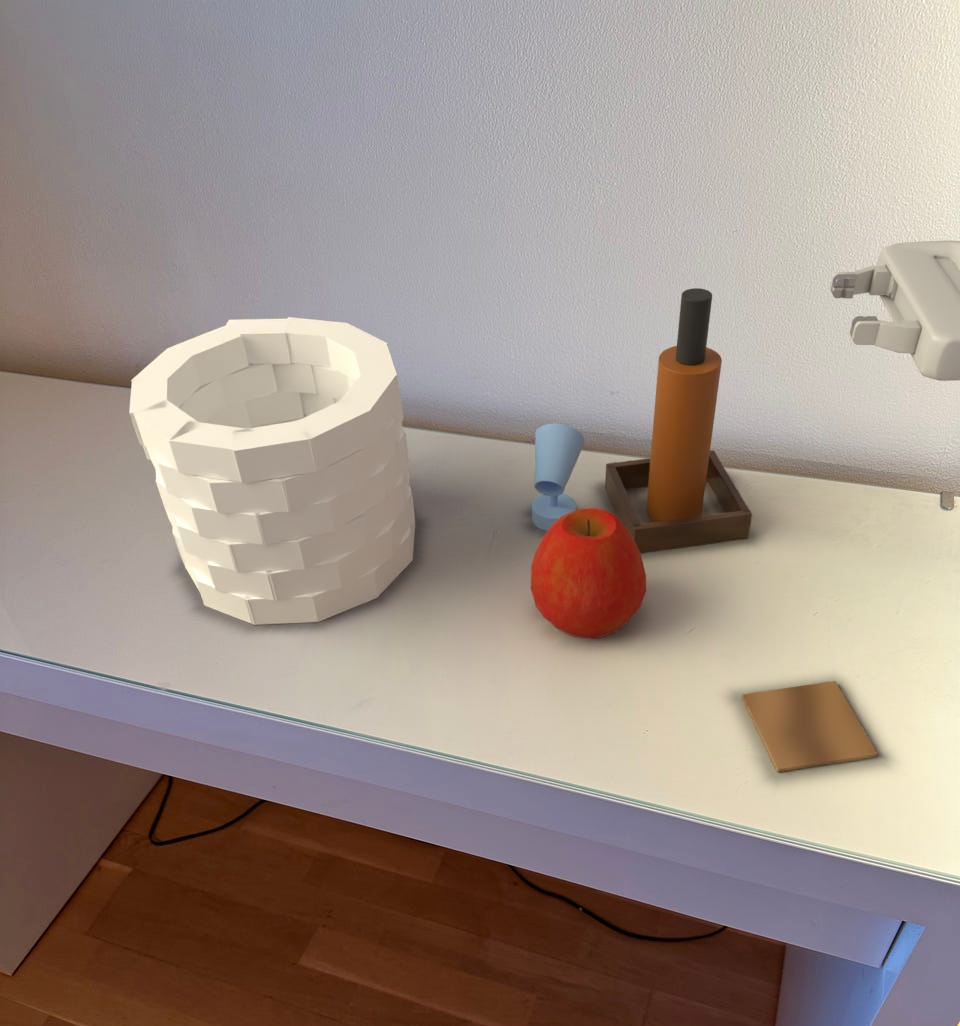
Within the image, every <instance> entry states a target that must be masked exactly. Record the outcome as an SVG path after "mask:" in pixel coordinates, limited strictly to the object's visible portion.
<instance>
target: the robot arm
mask: <svg viewBox="0 0 960 1026" xmlns="http://www.w3.org/2000/svg"><path fill="white" fill-rule="evenodd" d="M829 289H830V292H831V294H832V297H834V298H835V299H853V298H854V296H855V295H862V294H868V295H869V296H879V298H880V300H881V301H882V303H883V305H884V307H885V309H886V311H887V312H888V314H889V316H890V318H891V321H887V320H881V319H878V317H877V316H876V315H867V316H863V315H858V316H855V317H854V318H853V319H852V321H851V327H850V330H849V335H850V338H851V340H852V342H853V344H854V345H857V346H875V347H878V348H881V349H885V350H887V351H891V352H894V353H897V354H910V356H911V358H912V359H913V362H914V364H915V365H916V367H917V370H918V372H919V373H920V375H922V376H923V377H925V378H929V379H930V380H931V379H932V380H934V381H935V380H936V381H941V382H949V381H950V382H951V381H952V382H953V381H960V240H924V241H922V240H921V241H907V242H898V243H897V242H896V243H892V244H890V245H888V246H885V247H883V248H881V250H880V252H879V255H878V259H877V262H876V265H871V266H867V267H864V268H860V269H857V270H854V271H837V272H834V273H833V274H832V276H831V280H830V285H829Z"/></svg>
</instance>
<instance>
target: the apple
mask: <svg viewBox="0 0 960 1026" xmlns="http://www.w3.org/2000/svg"><path fill="white" fill-rule="evenodd" d="M530 591H531V595H532V598H533V601H534V604H535V607H536V608H537V610H538V611H539V613H540V614H541V615H542V616H543V618H544V619H545V620H547V621H548V622H549V623H550V624H552V625H553V626H554V628H556V629H557V630H559V631H561V632H564V633H566V634H568V635H570V636H573V637H579V638H586V639H597V638H600V637H604V636H608V635H612V634H614V633H615V632H617V631H618V630H620V629H621V628H622V627H624V626H625V625H627V624H628V622H629V621H630V620H631V619H633V617H634V616H635V615H636V614H637V612H638V611H639V609H640V608H641V606H642V604H643V601H644V598H645V595H646V593H647V574H646V569H645V565H644V561H643V557H642V553H640V551H639V549H638V547H637V545H636V543H635V541H634V539H633V537H632V536H631V534H630V532H629V531H628V529H627V528H626V527H625V526H624V524H623V523H622V522H621V521H620V519H619V518H618V517H617V515H616V513H613V512H610V511H609V510H606V509H604V508H598V507H587V508H580V509H576V510H575V511H573V512H570V513H568V514H566V515H564V516H561V517H560V518H559V519H558V520H557V521H556V522H555V523H554V524H553V525H552V526H551V527H550V528H549V530H548V531H546V532H545V534H544V535H543V536H542V538H541V540H540V542H539V543H538V545H537V547H536V550H535V553H534V555H533V558H532V562H531V566H530Z"/></svg>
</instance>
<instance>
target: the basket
mask: <svg viewBox="0 0 960 1026" xmlns="http://www.w3.org/2000/svg"><path fill="white" fill-rule="evenodd" d="M130 382H131V387H130V398H129V399H130V400H129V409H128V410H129V411H128V413H129V417H130V421H131V423H132V426H133V429H134V432H135V435H136V437H137V441H138V444H139V446H142V448H143V452H144V454H145V458H146V460H150V461H151V463H152V465H153V467H154V469H155V484H156V487H157V490H158V492H159V495H160V498H161V501H162V502H161V503H162V504H163V507H164V510H165V512H166V516H167V518H168V520H169V523H170V524H171V526H172V536H173V539H174V543H175V545H176V549H177V551H178V554H179V557H180V561H182V563H183V567H184V569H185V570H186V571H187V573H188V574H189V576H190V578H191V580H192V581H193V583H194V584H195V586H196V588H197V590H198V591H199V593H200V596H201V599H202V603H203V606H204V607H207V608H210V609H211V610H214V611H218V612H220V613H222V614H225V615H228V616H231V617H233V618H236V619H238V620H240V621H243V622H246V623H249V624H251V625H253V626H255V625H257V626H258V625H277V624H279V625H281V624H299V623H300V624H301V623H319V622H322V621H324V620H327V619H328V618H331V617H333V616H336V615H338V614H341V613H343V612H347V611H349V610H351V609H353V608H356V607H358V606H361V605H363V604H366V603H368V602H371V601H373V600H376V599H378V598H379V597H380V595H382V593H383V592H384V591H386V589H387V588H388V587H389V586H390V585H391V584H392V583H393V582H394V581H395V580H396V579H397V578H398V577H399V575H401V574H402V572H403V571H404V570H405V569H407V567H408V566H409V565H410V564H411V563H412V562H413V561H414V546H415V545H414V544H415V532H416V515H415V508H414V507H415V506H414V499H413V492H412V489H411V486H410V465H409V464H410V460H409V452H408V451H409V450H408V444H407V443H408V442H407V434H406V431H405V429H404V427H403V420H404V419H405V416H404V408H403V398H402V391H401V387H399V379H398V373H397V371H396V368H395V365H394V362H393V358H392V355H391V353H390V349H389V343H388V342H386V341H384V340H382V339H380V338H378V337H376V336H375V335H372V334H370V333H368V332H367V331H364V330H363V329H361V328H358V327H356V326H354V325H353V324H350V323H348V322H342V321H332V320H324V319H323V320H321V319H312V318H303V317H292V316H288V317H286V318H245V319H242V318H241V319H228V321H227V322H226V324H225V325H223V326H220V327H218V328H215V329H213V330H210V331H208V332H205V333H203V334H200V335H198V336H195V337H192V338H190V339H186V340H185V341H182V342H179V343H177V344H174V345H172V346H170V347H167V348H166V349H165V350H163V352H161V353H160V354H159V355H158V356H156V358H155V359H153V360H152V361H151V362H150V363H149V364H148V365H147V366H145V367H144V368H143V369H142V370H141V371H140V372H139V373H138V374H137V375H135V376H134V377H133V378H131V380H130Z"/></svg>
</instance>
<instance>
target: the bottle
mask: <svg viewBox="0 0 960 1026" xmlns="http://www.w3.org/2000/svg"><path fill="white" fill-rule="evenodd" d="M712 301H713V293H712V292H711V291H710V290H707V289H705V288H696V287H695V288H689V289H685V290H683V292H682V293H681V297H680V307H679V318H678V326H677V327H678V330H677V339H676V345H674V346H672V347H668V348H666V349H664V350H663V351H662V352H661V353H660V354H659V356H658V361H657V374H656V375H657V376H656V388H655V399H654V411H653V423H652V434H651V435H652V436H651V447H650V457H649V458H650V470H649V482H648V486H647V495H646V507H645V510H646V511H645V513H646V516H647V517H648V519H649V520H650V521H651V523H652V522H659V521H667V520H674V519H682V518H689V517H697V516H703V508H704V507H703V506H704V500H705V491H706V483H707V480H706V477H707V470H708V462H709V454H710V451H711V447H712V446H711V445H712V440H713V439H712V437H713V432H714V423H715V416H716V409H717V408H716V407H717V402H718V401H717V400H718V392H719V385H720V378H721V370H722V363H723V362H722V361H723V359H722V357H721V355H720V354H719V353H718V352H717V351H715V350H714V349H712V348H710V347H707V344H708V337H709V327H710V321H711V320H710V319H711V312H712V311H711V310H712V303H713V302H712Z"/></svg>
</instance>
